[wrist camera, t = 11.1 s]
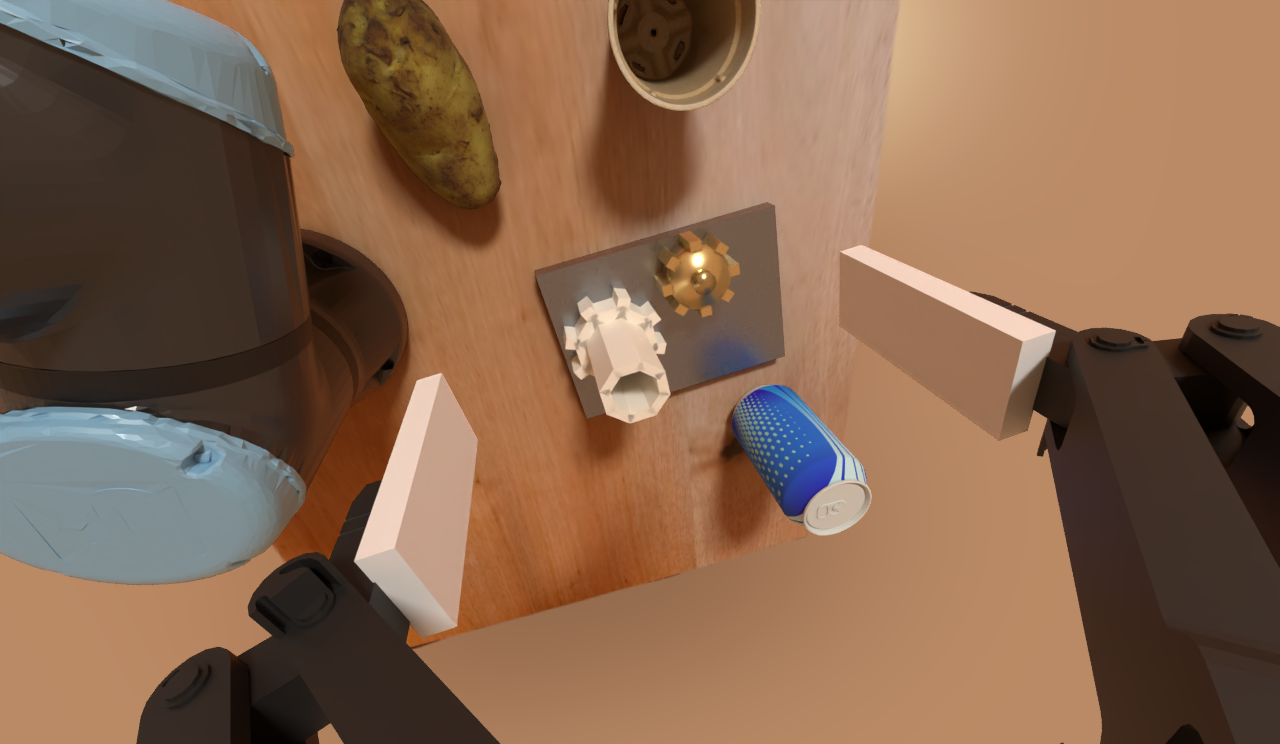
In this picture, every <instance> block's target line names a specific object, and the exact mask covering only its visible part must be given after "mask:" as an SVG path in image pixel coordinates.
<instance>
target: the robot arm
mask: <svg viewBox="0 0 1280 744" xmlns="http://www.w3.org/2000/svg"><path fill="white" fill-rule="evenodd" d="M290 157H294V149H293V147H292V145H291V144H290V143H289V142H288V141H287V139H286V134H285V129H284V123H283V118H282V113H281V107H280V102H279V97H278V91H277V86H276V82H275V78H274V75H273V72H272V70H271V68H270V66H269V64H268V62H267V61H266V59H265V58H264V56H263V55H262V54H261V53H260V51H259V50H258V49H257V48H256V47H255V46H254V45H253V44H252V43H251V42H250V41H248V40H247V39H246V38H245V37H243V36H242V35H241V34H239V33H238V32H236V31H234V30H233V29H231V28H230V27H228V26H226V25H224V24H222V23H220V22H218V21H216V20H214V19H211V18H209V17H207V16H204V15H202V14H200V13H197V12H195V11H192V10H190V9H188V8H185V7H182V6H180V5H177V4H174V3H172V2H169V1H167V0H0V553H1V554H3V555H5V556H8V557H10V558H12V559H15V560H17V561H20V562H22V563H25V564H28V565H30V566H33V567H36V568H40V569H43V570H49V571H53V572H58V573H61V574H64V575H67V576H70V577H75V578H80V579H85V580H91V581H97V582H106V583H116V584H131V585H132V584H133V585H135V584H136V585H154V584H171V583H181V582H189V581H195V580H200V579H205V578H209V577H213V576H216V575H219V574H223V573H226V572H228V571H231V570H233V569H236V568H238V567H240V566H242V565H244V564H246V563H247V562H249V561H250V560H251V559H252V558H254V557H256V556H257V555H260V554H261V553H263V552H265V551H266V550H267V549H268V548H269V547H270V546H271V545H272V544H273V543H274V542H275V541H276V539H277V538H278V537H279V535H280V534H281V532H282V531H283V530H284V528H285V527H286V525H287V524H288V523H289V521H290V520H291V519H292V517H293V516H294V514H295V513H297V512H298V510H299V509H300V508H301V506H302V505H303V503H304V500H305V499H306V492H307V490H308V488H309V486H310V484H311V482H312V480H313V478H314V476H315V474H316V472H317V470H318V468H319V466H320V464H321V462H322V461H323V459H324V457H325V455H326V453H327V451H328V449H329V447H330V445H331V443H332V441H333V439H334V437H335V435H336V433H337V431H338V429H339V427H340V425H341V424H342V422H343V420H344V418H345V416H346V414H347V412H348V410H349V408H350V407H351V406H353V405H355V404H356V403H358V402H359V401H361V400H363V399H364V398H366V397H367V396H369V395H370V394H372V393H373V392H375V391H376V390H378V389H379V388H380V387H381V386H382V385H383V384H384V383H385V382H386V381H387V380H388V379H389V378H390V376H391V375H392V374H393V372H394V371H395V369H396V367H397V366H398V363H399V361H400V359H401V357H402V354H403V352H404V349H405V346H406V342H407V336H408V323H407V316H406V312H405V308H404V305H403V303H402V300H401V298H400V296H399V294H398V292H397V290H396V289H395V287H394V286H393V284H392V283H391V281H390V280H389V279H388V277H387V276H386V275H385V274H384V273H383V272H382V271H381V269H380V268H378V267H377V266H376V265H375V264H374V263H373V262H372V261H371V260H370V259H368V258H367V257H366V256H364V255H363V254H362V253H360V252H359V251H357V250H356V249H354V248H352V247H351V246H349V245H347V244H345V243H343V242H341V241H339V240H337V239H334V238H332V237H329V236H327V235H324V234H320V233H317V232H313V231H309V230H304V229H300V226H299V218H298V211H297V204H296V197H295V190H294V182H293V175H292V168H291V161H290ZM840 326H841V327H842V328H843V329H845V330H846V331H848V332H849V333H850V334H852V335H853V336H854V337H856V338H857V339H859V340H860V341H861V342H863V343H864V344H866V345H867V346H868V347H870V348H871V349H873V350H874V351H875V352H877V353H878V354H879V355H881V356H882V357H884V358H885V359H886V360H888V361H889V362H890V363H892V364H893V365H895V366H896V367H897V368H899V369H900V370H902V371H903V372H904V373H906V374H907V375H909V376H910V377H911V378H913V379H914V380H915V381H917V382H918V383H920V384H921V385H922V386H924V387H925V388H927V389H928V390H929V391H931V392H932V393H933V394H935V395H936V396H938V397H939V398H940V399H942V400H944V402H946V403H947V404H949V405H950V406H951V407H953V408H954V409H956V410H957V411H958V412H960V413H961V414H962V415H964V416H965V417H967V418H968V419H969V420H971V421H972V422H974V423H975V424H976V425H978V426H979V427H981V428H982V429H983V430H985V431H986V432H987V433H989V434H991V436H993V437H994V438H996V439H997V440H1002V439H1005V438H1008V437H1011V436H1014V435H1016V434H1019V433H1022V432H1025V431H1027V430H1028V427H1029V424H1030V420H1031V417H1032V413H1033V410H1035V411H1036V412H1038V413H1040V414H1041V415H1043V416H1044V417H1046V418H1048V419H1047V423H1046V425H1045V429H1044V432H1043V435H1042V438H1041V442H1040V445H1039V448H1038V453H1037V456H1043V454H1044V451H1045V450H1046V449H1048V453H1049V458H1050V463H1051V468H1052V473H1053V477H1054V482H1055V487H1056V492H1057V497H1058V502H1059V507H1060V512H1061V517H1062V522H1063V527H1064V532H1065V537H1066V542H1067V547H1068V552H1069V557H1070V562H1071V567H1072V572H1073V577H1074V582H1075V587H1076V591H1077V596H1078V601H1079V606H1080V611H1081V616H1082V621H1083V626H1084V631H1085V636H1086V641H1087V646H1088V651H1089V656H1090V661H1091V666H1092V671H1093V676H1094V681H1095V685H1096V691H1097V696H1098V700H1099V705H1100V710H1101V718H1102V734H1101V742H1100V744H1280V327H1278V326H1276V325H1274V324H1272V323H1269V322H1267V321H1264V320H1260V319H1256V318H1253V317H1251V316H1246V315H1240V316H1239V315H1238V314H1211V315H1204V316H1199V317H1196V318H1194V319H1192V320H1190V322H1189V324H1188V327H1187V328H1186V331H1185V333H1184V335H1183V337H1182V338H1180V339H1171V340H1160V341H1151V340H1150V339H1148V338H1146V337H1144V336H1142V335H1140V334H1138V333H1134V332H1130V331H1126V330H1122V329H1113V328H1091V329H1087V330H1083V331H1080V332H1076V331H1074V330H1072V329H1069V328H1067V327H1065V326H1062V325H1060V324H1057V323H1055V322H1053V321H1051V320H1048V319H1046V318H1044V317H1041V316H1039V315H1036V314H1034V313H1032V312H1026V310H1025V309H1022V308H1020V307H1018V306H1015V305H1014V306H1012V305H1011V303H1008V302H1006V301H1004V300H1001V299H999V298H997V297H994V296H991V295H986V294H981V293H976V292H967V291H965V290H963V289H960V288H958V287H955V286H954V285H951V284H949V283H947V282H944V281H942V280H940V279H938V278H935V277H933V276H931V275H929V274H926V273H924V272H922V271H919V270H917V269H915V268H913V267H911V266H908V265H906V264H904V263H901V262H899V261H897V260H895V259H892V258H890V257H888V256H885V255H883V254H881V253H879V252H876V251H874V250H872V249H870V248H867V247H865V246H863V245H860V246H857V247H853V248H850V249H847V250H844V251H840ZM1247 406H1249V407H1250V408H1251V410H1252V412H1253V415H1254V425H1253V426H1250V425H1248V424H1247V423H1246V422H1245V421H1244V420H1242V419H1241V416H1242V414H1243V412H1244V411H1245V409H1246V407H1247ZM477 444H478V439H477V437H476V436H475V434H474V432H473V430H472V428H471V426H470V424H469V423H468V421H467V419H466V417H465V415H464V413H463V411H462V410H461V408H460V406H459V404H458V402H457V400H456V398H455V396H454V395H453V393H452V391H451V389H450V387H449V385H448V383H447V382H446V380H445V378H444V376H443V374H442V373H440V374H436V375H433V376H430V377H427V378H423V379H420V380H417V382H416V385H415V388H414V391H413V393H412V396H411V399H410V402H409V405H408V408H407V411H406V413H405V416H404V419H403V422H402V425H401V428H400V431H399V434H398V436H397V439H396V442H395V445H394V448H393V451H392V454H391V457H390V459H389V462H388V465H387V468H386V471H385V474H384V477H383V479H382V480H380V481H377V482H374V483H370V484H367V485H366V486H365V487H364V489H363V490H362V491H361V492H360V494H359V495H358V496H357V497H356V498H355V500H354V501H353V502H352V505H351V507H350V510H349V512H348V515H347V517H346V522H345V523H344V525H343V527H342V530H341V532H340V534H341V536H340V537H338V539H337V542H336V544H335V547H334V549H333V552H332V554H331V557H330V559H329V560H328V559H327V558H326V557H325V556H324V555H322V554H319V553H317V552H316V553H306V554H303V555H301V556H298V557H296V558H293V559H291V560H289V561H288V562H286V563H285V564H283V565H281V566H280V567H278V568H277V569H276V570H274V571H273V572H272V573H271V574H270V575H269V576H268V577H267V578H266V579H264V581H262V583H261V584H260V586H259V587H258V588H257V589H256V591H255V592H254V593H253V595H252V597H251V600H250V602H249V605H248V613H249V616H250V617H251V618H252V619H253V620H254V621H256V622H257V623H258V624H259V625H260V626H262V627H263V628H264V629H265V630H267V631H268V632H269V633H270V634H271V635H272V636H271V637H270V638H268V639H266V640H264V641H263V642H261V643H259V644H258V645H256V646H254V647H253V648H251V649H249V650H247V651H246V652H244V653H242V654H241V655H239V656H235V655H234V654H233V653H231V652H230V651H229V650H227V649H224V648H221V647H216V648H211V649H206V650H204V651H202V652H200V653H198V654H196V655H194V656H192V657H190V658H189V659H188V660H186V661H185V662H184V663H182V664H181V665H180V666H178V667H177V668H176V669H175V670H173V671H172V672H171V673H170V674H169V675H168V676H167V677H166V678H165V679H164V680H163V681H162V682H161V683H160V684H159V685H158V687H157V688H156V689H155V691H154V692H153V694H152V695H151V697H150V698H149V699H148V701H147V702H146V705H145V707H144V710H143V713H142V715H141V719H140V725H139V731H138V737H137V744H319V739H318V733H317V732H318V731H319V730H321V729H322V728H324V727H325V726H327V725H328V724H330V723H331V724H332V725H333V727H334V729H335V730H336V732H337V733H338V735H339V737H340V738H341V740H342V741H343V743H344V744H500V743H499V742H498V741H497V740H496V739H495V738H494V737H493V736H492V734H491V733H490V732H489V731H488V730H487V729H486V728H485V727H484V726H483V725H482V724H481V723H480V722H479V721H478V719H477V718H476V717H475V716H474V715H473V714H472V713H471V712H470V711H469V710H468V709H467V708H466V707H465V706H464V704H463V703H462V702H461V701H460V700H459V699H458V698H457V697H456V696H455V695H454V694H453V693H452V692H451V691H450V690H449V689H448V687H447V686H446V685H445V684H444V683H443V682H442V681H441V680H440V679H439V678H438V677H437V676H436V675H435V674H434V673H433V672H432V670H431V669H430V668H429V667H428V666H427V665H426V664H425V663H424V662H423V661H422V660H421V659H420V657H419V656H418V655H417V654H416V653H415V652H414V651H413V650H412V649H411V648H410V647H409V646H408V645H407V644H406V640H407V635H408V630H409V625H411V626H412V627H413V629H414V630H415V631H416V632H417V633H418V634H419V635H420V637H421V638H425V637H428V636H431V635H434V634H437V633H440V632H443V631H445V630H448V629H451V628H454V627H457V620H458V611H459V603H460V594H461V585H462V576H463V567H464V558H465V550H466V541H467V532H468V523H469V514H470V505H471V497H472V488H473V479H474V470H475V461H476V452H477ZM1061 744H1064V743H1061Z"/></svg>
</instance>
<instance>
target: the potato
mask: <svg viewBox="0 0 1280 744" xmlns="http://www.w3.org/2000/svg"><path fill="white" fill-rule="evenodd" d="M337 31H338V43H339V49H340V55H341V60H342V63H343V66H344V69H345V71H346V73H347V75H348V77H349V79H350V81H351V83H352V84H353V86H354V88H355V89H356V91H357V92H358V94H359V95H360V97H361V99H362V101H363V103H364V105H365V107H366V109H367V111H368V113H369V114H370V115H371V116H372V118H373V119H374V121H375V122H376V124H377V125H378V127H379V128H380V129H381V131H382V132H383V133H384V135H385V136H386V138H387V139H388V141H389V142H390V143H391V145H392V146H393V148H394V149H395V150H396V152H397V153H398V155H399V156H400V157H401V158H402V159H403V160H404V162H405V163H406V164H407V166H408V167H409V168H410V169H411V170H412V171H413V172H414V174H415V175H416V176H417V177H418V178H419V179H420V180H421V181H422V182H423V183H425V184H426V185H427V186H428V187H429V188H430V189H432V190H433V191H434V192H436V193H437V194H439V195H440V196H442V197H443V198H445V199H446V200H448V201H449V202H451V203H453V204H454V205H456V206H459V207H461V208H464V209H470V210H472V209H477V208H480V207H482V206H484V205H486V204H488V203H490V202H491V201H492V200H493V198H494V197H495V195H496V194H497V192H498V191H499V188H500V185H501V180H500V178H499V169H498V159H497V155H496V152H495V151H494V147H493V142H492V136H491V132H490V125H489V123H488V120H487V117H486V113H485V110H484V107H483V104H482V100H481V97H480V93H479V91H478V88H477V85H476V83H475V81H474V78H473V76H472V74H471V71H470V69H469V67H468V65H467V64H466V62H465V60H464V59H463V57H462V56H461V55H460V53H459V52H458V50H457V49H456V47H455V45H454V44H453V42H452V41H451V39H450V37H449V35H448V34H447V32H446V30H445V28H444V27H443V25H442V23H441V22H440V20H439V19H438V17H437V16H436V15H435V13H434V12H433V11H432V9H431V8H430V7H429V6H428V5H427V4H426V3H425V2H424V1H422V0H344V2H343V4H342V7H341V11H340V16H339V21H338V28H337Z"/></svg>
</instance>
